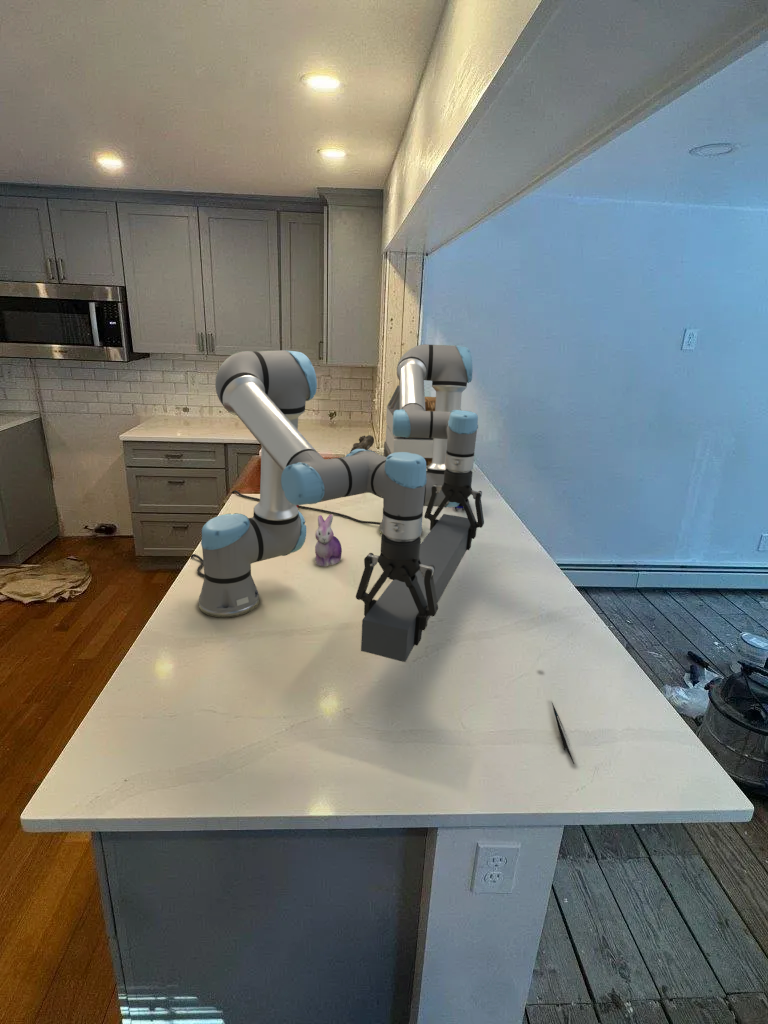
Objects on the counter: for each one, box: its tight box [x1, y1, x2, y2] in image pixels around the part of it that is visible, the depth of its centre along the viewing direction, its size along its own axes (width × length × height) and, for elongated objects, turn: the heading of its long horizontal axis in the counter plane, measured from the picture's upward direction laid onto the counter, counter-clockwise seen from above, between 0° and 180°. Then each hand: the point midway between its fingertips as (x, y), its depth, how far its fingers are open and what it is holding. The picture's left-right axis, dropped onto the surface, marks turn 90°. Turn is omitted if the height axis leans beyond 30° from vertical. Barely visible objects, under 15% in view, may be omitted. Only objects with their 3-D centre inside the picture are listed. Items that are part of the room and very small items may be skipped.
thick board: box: [360, 513, 473, 663], centre depth 137 cm, size 65×9×7 cm, turn 161°
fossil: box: [350, 434, 375, 452], centre depth 303 cm, size 22×10×15 cm
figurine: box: [314, 513, 343, 567], centre depth 173 cm, size 9×10×15 cm
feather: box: [540, 670, 575, 765], centre depth 113 cm, size 2×28×2 cm
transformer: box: [383, 384, 436, 467], centre depth 268 cm, size 34×33×41 cm
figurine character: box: [454, 498, 470, 512], centre depth 229 cm, size 7×8×15 cm
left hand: (394, 636), depth 115 cm, fingers closed on thick board, 9 cm apart
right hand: (451, 545), depth 161 cm, fingers closed on thick board, 9 cm apart
